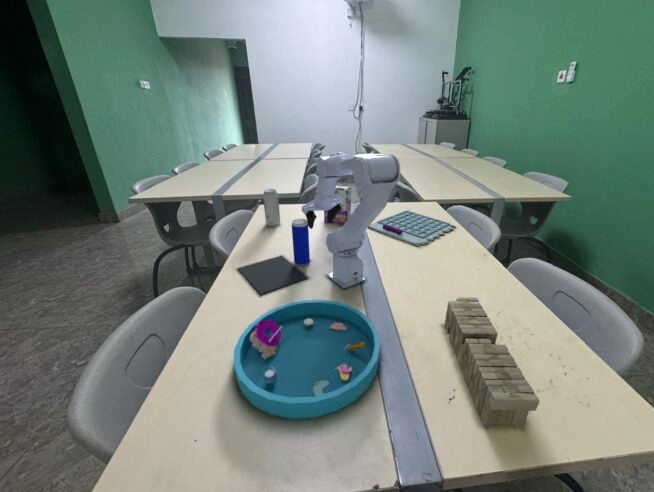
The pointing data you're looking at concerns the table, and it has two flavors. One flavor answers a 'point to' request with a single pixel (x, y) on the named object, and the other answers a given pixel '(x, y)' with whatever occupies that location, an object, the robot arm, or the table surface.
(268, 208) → the energy drink can
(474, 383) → the block tower
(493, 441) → the table surface
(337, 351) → the round teal tray
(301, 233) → the beverage can
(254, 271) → the mat
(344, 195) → the candy bar box
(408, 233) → the calendar
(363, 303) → the table surface
